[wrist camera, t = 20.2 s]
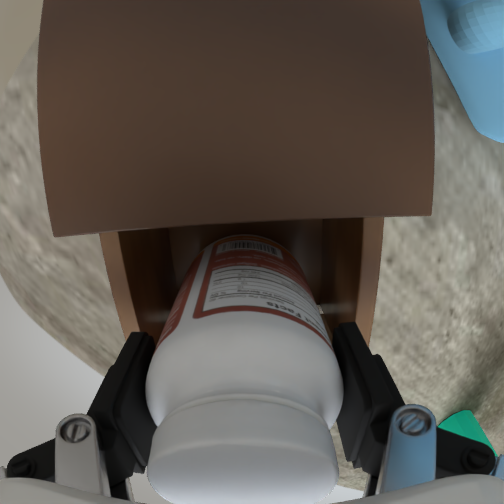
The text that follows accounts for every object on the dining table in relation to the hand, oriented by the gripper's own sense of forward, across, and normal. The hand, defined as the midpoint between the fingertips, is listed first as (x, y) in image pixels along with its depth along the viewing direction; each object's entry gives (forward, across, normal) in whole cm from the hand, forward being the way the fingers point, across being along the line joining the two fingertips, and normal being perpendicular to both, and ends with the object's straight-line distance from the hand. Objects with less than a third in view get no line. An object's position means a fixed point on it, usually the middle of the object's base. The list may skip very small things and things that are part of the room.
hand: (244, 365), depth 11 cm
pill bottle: (+6, 0, 0) cm, 6 cm away
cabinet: (+10, 0, -12) cm, 15 cm away
